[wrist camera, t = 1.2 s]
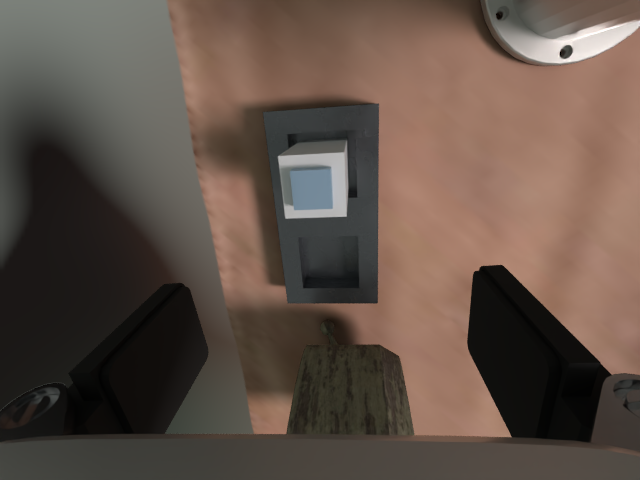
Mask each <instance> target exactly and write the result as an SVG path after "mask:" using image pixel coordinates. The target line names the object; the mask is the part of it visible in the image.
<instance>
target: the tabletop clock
mask: <svg viewBox="0 0 640 480" xmlns="http://www.w3.org/2000/svg"><path fill="white" fill-rule="evenodd" d="M320 329H321V331H322V333H323V334H325V335H328V337H329V341H330V345H306V347H305V349H304V353H303V356H302V359H301V363H300V368H299V372H298V376H297V380H296V385H295V389H294V395H293V400H292V406H291V411H290V416H289V422H288V428H287V434H336V435H414V430H413V424H412V419H411V413H410V407H409V402H408V396H407V391H406V386H405V381H404V376H403V371H402V366H401V362H400V358H399V356H398V355H396V354H394V353H393V352H391V351H389V350H387V349H386V348H384V347H382V346H381V345H338V344H337V342H336V340H335V338H334V336H333V334H332V333H333V332H334V329H335V326H334V324H333V322H332V321H328V320H326V321H324V322H323V323H322V324H321V328H320Z"/></svg>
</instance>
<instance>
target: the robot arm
mask: <svg viewBox="0 0 640 480" xmlns="http://www.w3.org/2000/svg"><path fill="white" fill-rule="evenodd" d="M480 1H481V6H482V11H483V15H484V19H485V22H486V24H487V26H488V28H489V30H490V32H491V34H492V36H493V37H494V39H495V40H496V41H497V42H498V44H499V45H500V46H501V47H502V48H503V49H504V50H505V51H507V52H508V53H509V54H511V55H512V56H513V57H515V58H517V59H519V60H522V61H524V62H526V63H529V64H534V65H540V66H561V65H566V64H572V63H577V62H580V61H583V60H586V59H590V58H593V57H595V56H597V55H599V54H601V53H603V52H605V51H607V50H609V49H611V48H613V47H615V46H616V45H618V44H619V43H620V42H622V41H623V40H625V39H626V38H628V37H629V36H630V35H632V34H633V33H634V32H635V31H636V30H637V29H638V28H639V27H640V0H480ZM496 13H499V14H500V16H501V17H500V19H499V20H497V18H496ZM560 50H561V51H562V55H561V56H560ZM467 343H468V349H469V352H470V355H471V356H472V358H473V360H474V362H475V364H476V366H477V368H478V370H479V372H480V374H481V376H482V378H483V380H484V382H485V384H486V386H487V388H488V390H489V392H490V394H491V396H492V398H493V400H494V402H495V404H496V406H497V408H498V410H499V412H500V414H501V416H502V418H503V420H504V422H505V424H506V426H507V428H508V430H509V432H510V434H511V436H512V437H479V436H426V435H336V434H165V432H166V430H167V428H168V427H169V425H170V423H171V421H172V419H173V418H174V416H175V414H176V412H177V411H178V409H179V407H180V406H181V404H182V402H183V400H184V398H185V397H186V395H187V393H188V391H189V390H190V388H191V386H192V384H193V383H194V381H195V379H196V377H197V376H198V374H199V372H200V370H201V368H202V367H203V365H204V363H205V362H206V359H207V357H208V347H207V344H206V340H205V337H204V334H203V331H202V328H201V324H200V321H199V318H198V314H197V311H196V308H195V305H194V302H193V298H192V295H191V292H190V289H189V288H188V287H185V286H184V284H182V283H172V284H164V285H162V286H161V287H160V288H159V289H158V290H157V291H156V292H155V293H154V294H153V295H152V296H151V297H149V298H148V299H147V300H146V301H145V302H144V303H143V304H142V305H141V306H140V307H139V308H138V309H137V310H135V311H134V312H133V313H132V314H131V315H130V316H129V317H128V318H127V319H126V320H125V321H124V322H123V323H122V324H121V325H119V326H118V328H116V329H115V330H114V331H113V332H112V333H111V334H110V335H109V336H108V337H107V338H106V339H105V340H103V341H102V342H101V343H100V344H99V345H98V346H97V347H96V348H95V349H94V350H93V351H92V352H91V353H90V354H89V355H87V356H86V357H85V358H84V359H83V360H82V361H81V362H80V363H79V364H78V365H77V366H76V367H75V368H74V369H73V370H72V371H70V372H69V375H70V377H71V379H72V381H73V384H72V385H71V386H70V387H69V388H67V386H66V385H64V384H63V383H50V384H45V385H42V386H40V387H36V388H34V389H32V390H30V391H28V392H26V393H24V394H22V395H21V396H19V397H18V398H16V399H14V400H13V401H11V402H10V403H9V404H8V405H6V406H5V407H4V408H3V409H2V410H1V411H0V480H640V375H635V374H627V373H623V374H614V375H611V374H610V373H609V372H608V371H607V370H606V369H605V368H604V367H603V366H602V365H601V364H600V362H599V361H598V360H597V359H596V358H595V357H594V356H593V355H592V354H591V353H590V352H589V351H588V350H587V349H586V348H585V347H584V346H583V345H582V344H581V343H580V342H579V341H578V340H577V339H576V338H575V337H574V336H573V335H572V334H571V333H570V332H569V331H568V330H567V329H566V328H565V327H564V326H563V325H562V324H561V323H560V322H559V321H558V320H557V319H556V318H555V317H554V316H553V315H552V314H551V313H550V312H549V311H548V310H547V309H546V308H545V307H544V306H543V305H542V304H541V303H540V302H539V301H538V300H537V299H536V298H535V297H534V296H533V295H532V294H531V293H530V292H529V291H528V290H527V289H526V288H525V287H524V286H523V285H522V284H521V283H520V282H519V281H518V280H517V279H516V278H515V277H514V276H513V275H512V274H511V273H510V272H509V271H508V270H507V269H506V268H505V267H504V266H502V265H493V266H481V267H480V269H479V271H475V272H474V274H473V282H472V294H471V305H470V317H469V328H468V340H467Z"/></svg>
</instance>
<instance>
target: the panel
mask: <svg viewBox="0 0 640 480" xmlns="http://www.w3.org/2000/svg"><path fill="white" fill-rule="evenodd" d="M263 117H264V124H265V132H266V140H267V147H268V155H269V163H270V170H271V178H272V186H273V194H274V201H275V209H276V217H277V224H278V232H279V240H280V248H281V255H282V263H283V271H284V278H285V286H286V294H287V301H288V303H378V144H379V104H366V105H353V106H339V107H326V108H312V109H299V110H285V111H272V112H263ZM336 138H347V150H348V181H349V186H348V202H347V217H319V218H288V219H285V212H284V203H283V195H282V186H281V178H280V169H279V161H278V156H279V155H280V154H282V153H283V152H285V151H286V150H288V149H289V148H291V147H292V146H294V145H295V144H297V143H298V142H300V141H304V140H320V139H336Z"/></svg>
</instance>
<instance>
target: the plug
mask: <svg viewBox="0 0 640 480" xmlns="http://www.w3.org/2000/svg"><path fill="white" fill-rule="evenodd" d="M278 161H279V169H280V178H281V186H282V195H283V203H284V212H285V219H288V218H319V217H347V202H348V186H349V181H348V150H347V138H336V139H320V140H304V141H300V142H298V143H297V144H295V145H294V146H292V147H291V148H289V149H288V150H286V151H285V152H283V153H282V154H280V155H279V156H278Z"/></svg>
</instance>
